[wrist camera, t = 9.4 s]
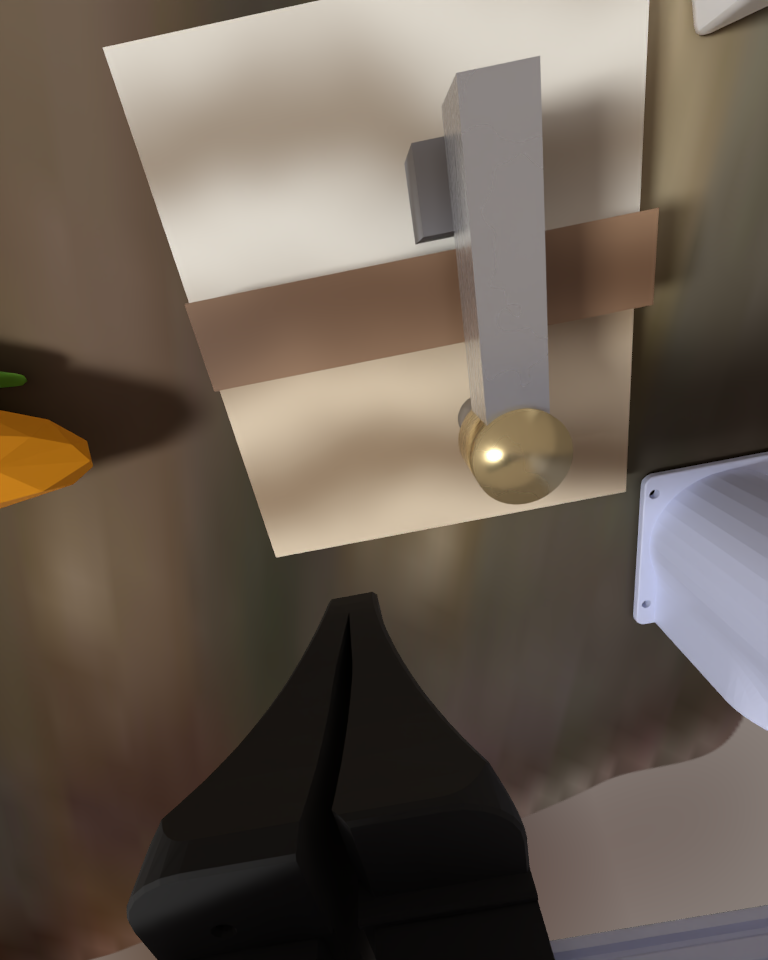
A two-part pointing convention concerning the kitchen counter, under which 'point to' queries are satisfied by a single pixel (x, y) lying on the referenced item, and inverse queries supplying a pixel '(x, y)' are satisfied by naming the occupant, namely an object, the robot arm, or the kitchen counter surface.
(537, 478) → the bar
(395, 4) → the brown-striped cream panel
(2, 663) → the kitchen counter surface
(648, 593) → the robot arm
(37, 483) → the corn
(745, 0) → the container
